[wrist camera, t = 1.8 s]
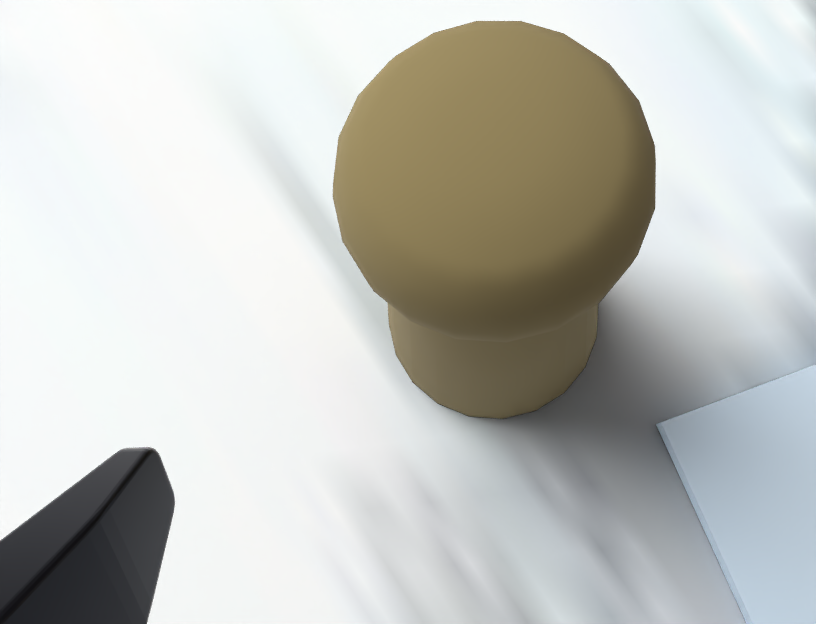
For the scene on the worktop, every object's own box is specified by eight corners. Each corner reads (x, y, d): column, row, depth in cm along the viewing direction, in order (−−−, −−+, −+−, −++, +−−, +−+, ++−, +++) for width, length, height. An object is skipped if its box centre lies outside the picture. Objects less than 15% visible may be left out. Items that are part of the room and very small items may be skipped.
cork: (612, 409, 20) (751, 322, 9) (395, 427, 20) (288, 364, 10) (583, 206, 21) (675, -76, 11) (382, 227, 22) (276, -19, 11)
